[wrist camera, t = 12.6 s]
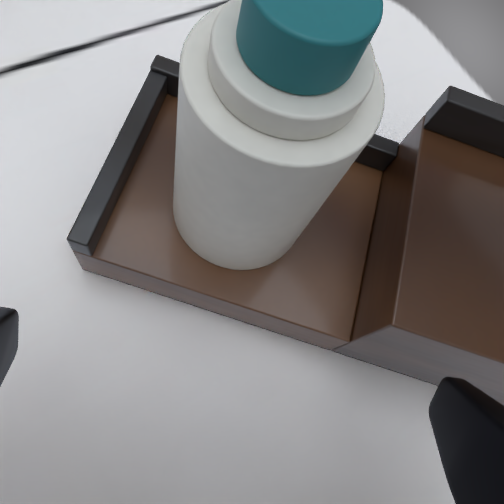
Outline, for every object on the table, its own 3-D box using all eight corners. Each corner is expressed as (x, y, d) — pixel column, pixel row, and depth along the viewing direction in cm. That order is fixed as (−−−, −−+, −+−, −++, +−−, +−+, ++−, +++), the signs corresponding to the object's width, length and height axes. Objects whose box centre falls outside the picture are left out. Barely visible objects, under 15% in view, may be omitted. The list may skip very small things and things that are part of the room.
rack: (532, 416, 18) (716, 415, 12) (81, 269, 17) (36, 184, 11) (536, 243, 21) (685, 172, 15) (157, 107, 20) (154, -28, 14)
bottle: (318, 253, 16) (482, 77, 8) (192, 285, 15) (230, 114, 7) (277, 144, 18) (380, -105, 9) (158, 165, 17) (154, -102, 8)
